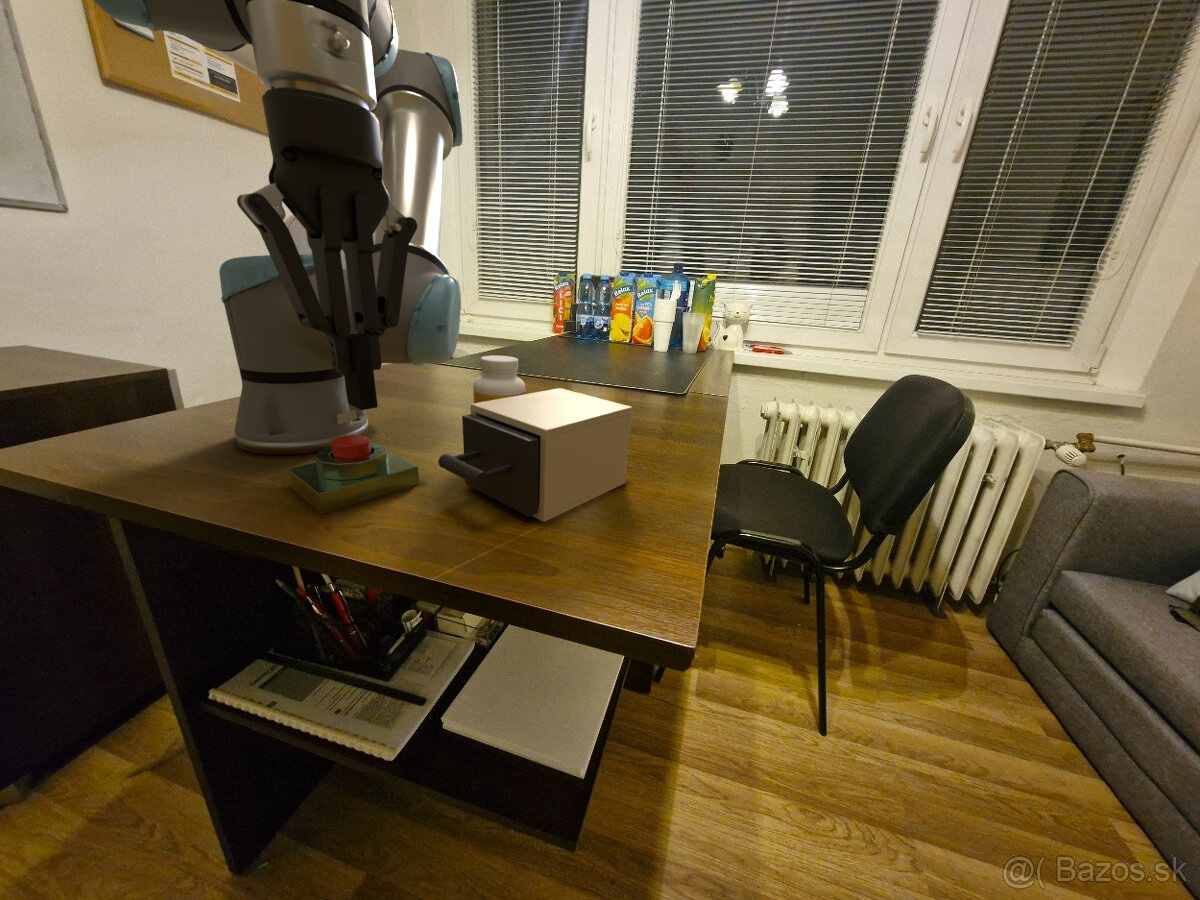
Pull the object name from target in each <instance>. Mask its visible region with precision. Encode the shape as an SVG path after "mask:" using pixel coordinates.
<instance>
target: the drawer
mask: <svg viewBox="0 0 1200 900" xmlns="http://www.w3.org/2000/svg"><path fill="white" fill-rule="evenodd" d="M461 418H462V444H463V453H461V454H457V455H454V456H452V455H451V454H449V453H444V454H442V455H440V456H439V458H438V466H439V467H440V468H441V469H444V470H446V471H448V472H450V473H452V474H454V475H456V476H457V477H459V478H461V479H463V480H464V484H465V485H467V486H469V487H471V488H473V489H474V490H477V491H478V492H480V493H483V494H484V495H486V496H488V497H490V498H492V499H494V500H496V501H497V502H499V503H501V504H503V505H505V506H506V507H509V508H511V509H513V510H515V511H516V512H518V513H520V514H522V515H524V516H526V517H528V518H530V517H533V516H532V515H534V514H537V510H538V502H539V490H540V439H541V436H539V435H536V434H533V433H531V432H528V431H525V430H522V429H520V428H517V427H514V426H511V425H509V424H506V423H503V422H500V421H498V420H495V419H492V418H489V417H486V419H484V418H481V417H478V416H475V415H473V414H471V413H470V414H463V415H462V416H461Z"/></svg>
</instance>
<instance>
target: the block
mask: <svg viewBox="0 0 1200 900" xmlns="http://www.w3.org/2000/svg"><path fill="white" fill-rule="evenodd" d="M370 443H371V451H372V454H370V455H369V456H367V457H362V458H358V459H348V460H341V459H334V458H333V453H332V446H330V447H328V448H326V449H323V450H321V451H319V452H317V454H316V456H315V462H312V463H308V464H304V465H300V466H295V467H291V468H290V467H289V468H287V473H288V478H289V483H290V487H291V488H290V489H292V490H293V491H294V492H296V493H297V494H298V495H299V496H300V497H301V498H302V499H304V500H305V501H306V502H307V503H308V504H309V505H311V507H313V508H314V509H315V510H316V511H317V512H318V513H319V514H320V515H324V514H327V513H329V512H333V511H337V510H340V509H343V508H347V507H349V506H352V505H355V504H360V503H363V502H365V501H366V502H367V501H369V500H372V499H375V498H378V497H383V496H385V495H389V494H392V493H395V492H398V491H402V490H405V489H408V488H412V487H415V486H418V485H420V478H419V477H420V476H419V467H418V466H417V465H416V464H413V463H412V462H410V461H408V460H407V459H405V458H403V457H401V456H400V455H398V454H395V453H394V452H391V451H390V450H388V447H386V446H385V445H383V444H381V443H379V442H371V441H370Z"/></svg>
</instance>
